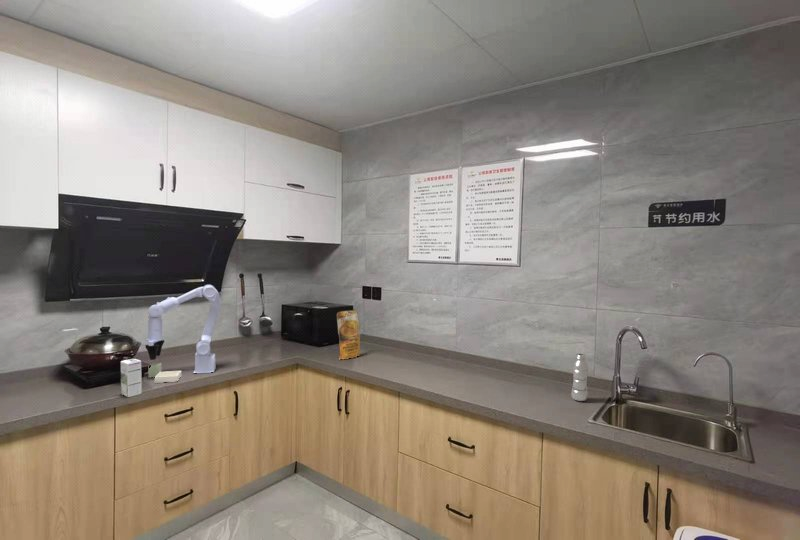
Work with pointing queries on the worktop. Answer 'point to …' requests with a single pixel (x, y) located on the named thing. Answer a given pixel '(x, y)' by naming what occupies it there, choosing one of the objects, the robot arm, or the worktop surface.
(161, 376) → the bin
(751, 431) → the worktop surface
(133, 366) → the syrup box
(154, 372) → the block
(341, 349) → the pancake mix bag
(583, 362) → the plastic bottle
